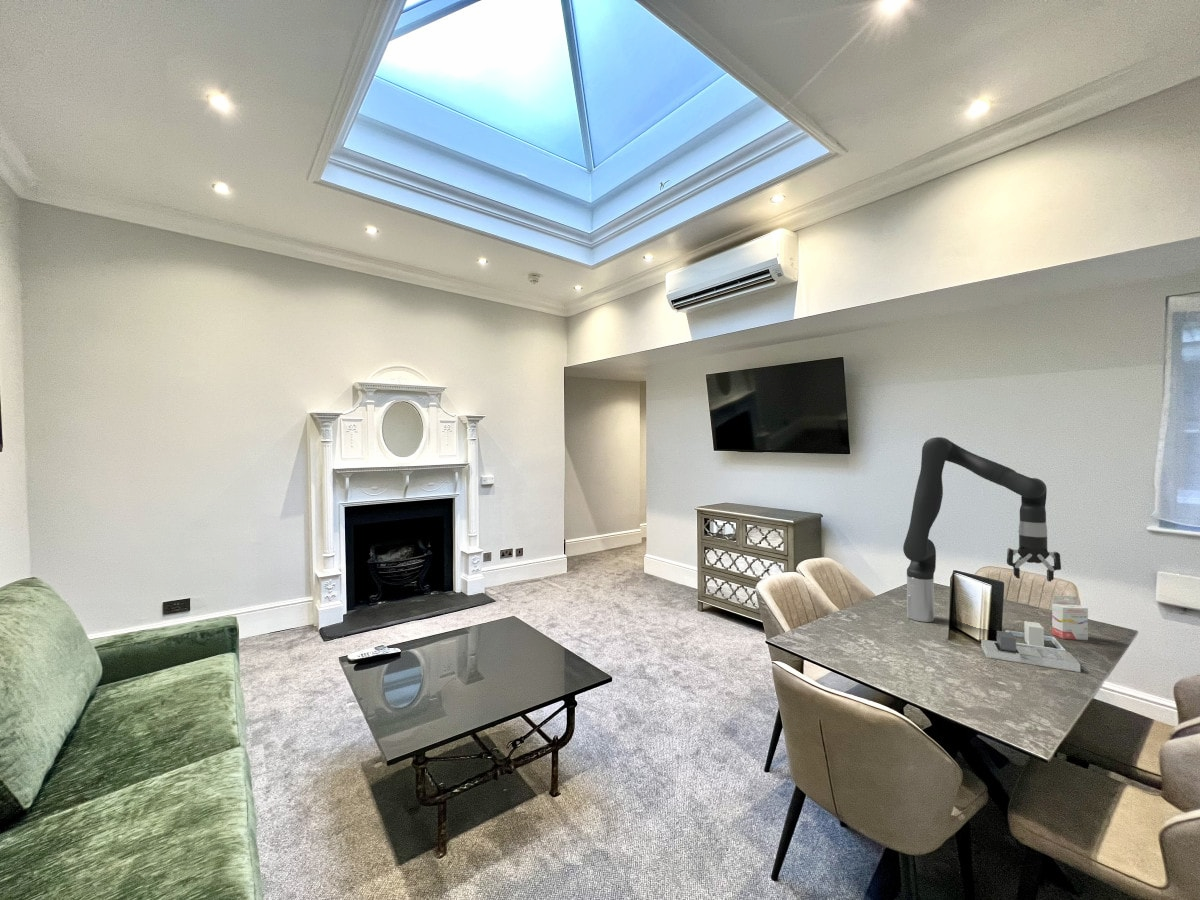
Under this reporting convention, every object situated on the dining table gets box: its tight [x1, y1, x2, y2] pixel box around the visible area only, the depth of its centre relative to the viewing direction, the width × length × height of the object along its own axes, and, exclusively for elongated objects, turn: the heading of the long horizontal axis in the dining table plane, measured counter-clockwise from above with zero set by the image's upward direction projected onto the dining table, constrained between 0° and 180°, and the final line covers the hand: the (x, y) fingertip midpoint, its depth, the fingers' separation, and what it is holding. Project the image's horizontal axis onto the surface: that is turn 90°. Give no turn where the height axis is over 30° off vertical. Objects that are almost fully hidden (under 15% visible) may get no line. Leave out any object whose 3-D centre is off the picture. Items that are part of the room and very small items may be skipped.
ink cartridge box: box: [1051, 595, 1089, 641], centre depth 176 cm, size 9×5×15 cm, turn 84°
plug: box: [1023, 620, 1045, 647], centre depth 171 cm, size 4×6×7 cm, turn 150°
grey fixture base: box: [980, 630, 1081, 673], centre depth 160 cm, size 23×10×7 cm, turn 60°
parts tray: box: [1004, 629, 1067, 652], centre depth 171 cm, size 14×14×2 cm
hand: (1033, 579), depth 171 cm, fingers open, 8 cm apart
